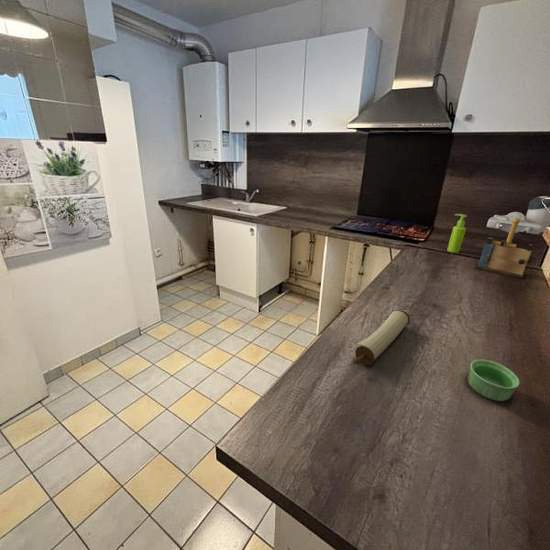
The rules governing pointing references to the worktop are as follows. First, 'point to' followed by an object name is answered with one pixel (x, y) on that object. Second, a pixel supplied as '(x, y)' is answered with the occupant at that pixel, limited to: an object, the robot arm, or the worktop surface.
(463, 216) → the soap dispenser
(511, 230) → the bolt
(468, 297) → the worktop surface
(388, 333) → the bamboo tube
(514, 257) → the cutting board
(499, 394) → the ramekin
